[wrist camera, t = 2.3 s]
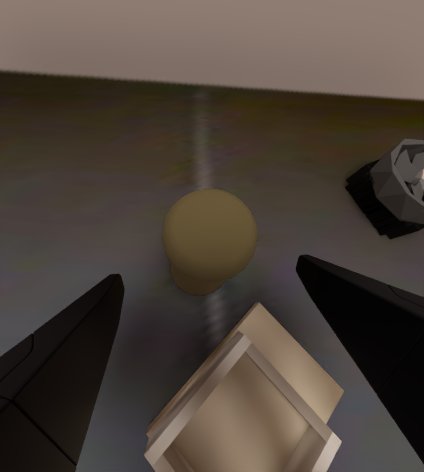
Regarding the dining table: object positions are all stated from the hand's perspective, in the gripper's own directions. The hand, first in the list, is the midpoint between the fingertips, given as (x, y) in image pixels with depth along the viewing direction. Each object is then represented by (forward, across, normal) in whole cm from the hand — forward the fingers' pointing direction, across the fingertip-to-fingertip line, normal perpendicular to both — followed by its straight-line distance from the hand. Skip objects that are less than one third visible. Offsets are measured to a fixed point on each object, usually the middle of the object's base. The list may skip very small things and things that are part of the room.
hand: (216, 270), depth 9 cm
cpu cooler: (+13, -26, +1) cm, 29 cm away
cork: (+8, 0, +6) cm, 10 cm away
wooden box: (0, -3, +14) cm, 14 cm away
